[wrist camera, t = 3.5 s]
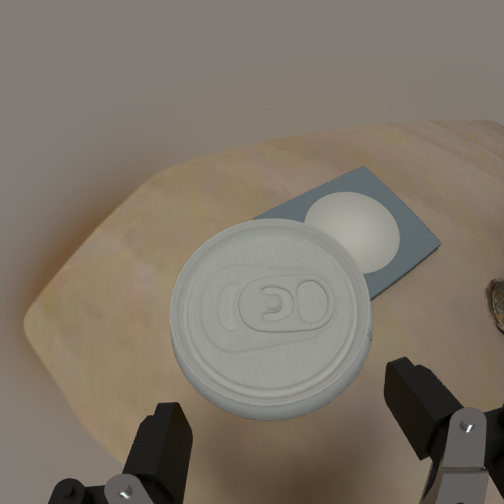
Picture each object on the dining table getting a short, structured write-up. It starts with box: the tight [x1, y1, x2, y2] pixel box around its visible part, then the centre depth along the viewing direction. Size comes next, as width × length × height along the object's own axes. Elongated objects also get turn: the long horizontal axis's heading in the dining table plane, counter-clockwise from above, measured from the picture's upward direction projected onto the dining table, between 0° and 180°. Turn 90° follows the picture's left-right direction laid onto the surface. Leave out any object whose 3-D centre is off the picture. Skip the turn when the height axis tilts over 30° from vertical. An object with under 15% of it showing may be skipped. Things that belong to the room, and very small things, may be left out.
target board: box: [253, 166, 441, 301], centre depth 25 cm, size 14×12×1 cm
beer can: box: [169, 218, 373, 421], centre depth 13 cm, size 6×6×15 cm
